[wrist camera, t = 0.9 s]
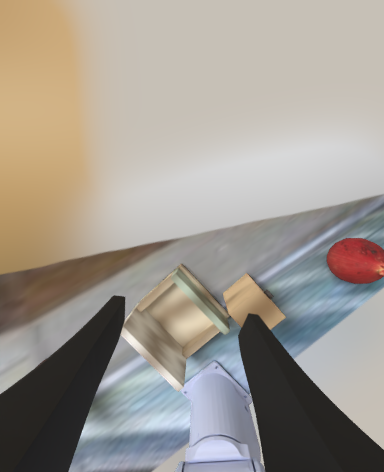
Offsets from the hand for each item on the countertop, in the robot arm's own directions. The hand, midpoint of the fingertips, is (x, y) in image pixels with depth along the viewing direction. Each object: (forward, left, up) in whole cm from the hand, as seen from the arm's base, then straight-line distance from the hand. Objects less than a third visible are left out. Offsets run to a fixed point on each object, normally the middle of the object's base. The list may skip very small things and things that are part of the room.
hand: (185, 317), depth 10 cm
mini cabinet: (-10, -1, -18) cm, 20 cm away
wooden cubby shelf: (-5, +8, -17) cm, 20 cm away
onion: (-14, -15, -18) cm, 28 cm away
